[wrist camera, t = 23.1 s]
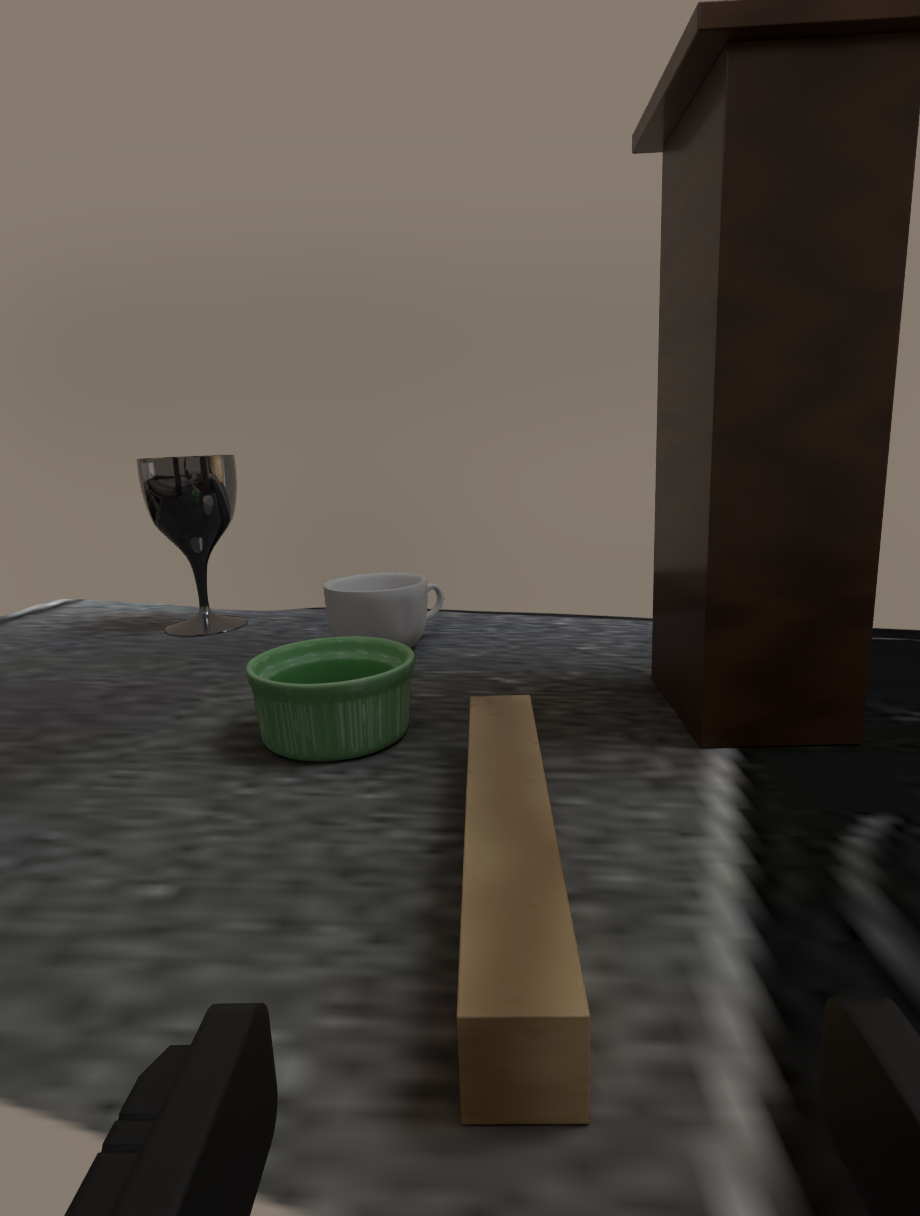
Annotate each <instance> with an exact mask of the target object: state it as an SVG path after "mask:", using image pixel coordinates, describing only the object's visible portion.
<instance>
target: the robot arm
mask: <svg viewBox="0 0 920 1216" xmlns="http://www.w3.org/2000/svg"><path fill="white" fill-rule="evenodd" d="M819 1099H820V1105H821V1110H822V1115H823V1118H824V1122H825V1125H826V1128H827V1131H828V1134H829V1136H830V1138H831V1141H832V1143H833V1145H834V1147H835V1149H836V1151H837V1153H838V1155H839V1157H840V1159H841V1161H842V1163H843V1165H844V1167H845V1169H846V1171H847V1173H848V1175H849V1177H850V1179H851V1181H852V1183H853V1185H854V1187H855V1189H856V1191H857V1193H858V1195H859V1197H860V1199H861V1201H862V1203H863V1205H864V1207H865V1209H866V1211H867V1213H868V1215H869V1216H920V1036H919V1035H918V1033H917V1032H916V1031H915V1029H914V1028H913V1027H912V1025H911V1024H910V1023H909V1021H908V1020H907V1019H906V1017H905V1016H904V1014H903V1013H902V1012H901V1010H900V1009H899V1008H898V1006H897V1005H896V1004H895V1003H894V1002H893V1001H892V1000H891V999H890V998H888V997H885V996H858V997H830V998H829V999H828V1001H827V1003H826V1006H825V1014H824V1026H823V1038H822V1050H821V1062H820V1074H819ZM276 1114H277V1082H276V1073H275V1065H274V1056H273V1047H272V1038H271V1030H270V1021H269V1013H268V1009H267V1006H266V1005H265V1004H264V1003H236V1004H213V1005H212V1006H210V1008H209V1009H208V1011H207V1012H206V1014H205V1016H204V1018H203V1021H202V1023H201V1025H200V1027H199V1029H198V1031H197V1033H196V1035H195V1037H194V1039H193V1041H192V1044H191V1045H170V1046H169V1047H168V1048H167V1049H166V1050H165V1051H164V1052H163V1053H162V1054H161V1055H160V1056H159V1057H158V1058H157V1059H156V1060H155V1061H154V1062H153V1063H152V1064H151V1065H150V1066H149V1067H148V1068H147V1069H146V1070H145V1071H144V1072H143V1073H142V1074H141V1075H140V1076H139V1077H138V1079H137V1081H136V1083H135V1085H134V1087H133V1089H132V1090H131V1092H130V1094H129V1096H128V1098H127V1100H126V1102H125V1103H124V1105H123V1107H122V1109H121V1111H120V1113H119V1119H118V1121H115V1122H114V1124H113V1126H112V1128H111V1130H110V1131H109V1133H108V1135H107V1137H106V1139H105V1141H104V1143H103V1146H102V1151H101V1153H98V1154H97V1156H96V1158H95V1160H94V1161H93V1163H92V1165H91V1167H90V1169H89V1171H88V1173H87V1174H86V1176H85V1178H84V1180H83V1182H82V1184H81V1186H80V1188H79V1189H78V1191H77V1193H76V1195H75V1197H74V1199H73V1201H72V1203H71V1204H70V1206H69V1208H68V1210H67V1212H66V1214H65V1215H64V1216H250V1213H251V1210H252V1207H253V1203H254V1200H255V1197H256V1193H257V1190H258V1187H259V1183H260V1180H261V1176H262V1173H263V1170H264V1166H265V1163H266V1160H267V1156H268V1153H269V1149H270V1146H271V1142H272V1139H273V1134H274V1129H275V1123H276Z"/></svg>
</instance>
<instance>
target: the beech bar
mask: <svg viewBox="0 0 920 1216" xmlns="http://www.w3.org/2000/svg"><path fill="white" fill-rule="evenodd" d="M456 1019H457V1041H458V1064H459V1086H460V1108H461V1123H462V1124H589V1122H590V1012H589V1007H588V1001H587V996H586V991H585V985H584V980H583V975H582V969H581V964H580V959H579V953H578V948H577V943H576V937H575V932H574V927H573V922H572V916H571V911H570V906H569V900H568V895H567V890H566V884H565V879H564V874H563V868H562V863H561V858H560V852H559V847H558V842H557V836H556V831H555V826H554V821H553V815H552V810H551V805H550V799H549V794H548V789H547V783H546V778H545V773H544V767H543V762H542V757H541V751H540V746H539V741H538V735H537V730H536V725H535V719H534V714H533V709H532V704H531V698H530V695H506V696H471V697H470V717H469V740H468V763H467V786H466V809H465V832H464V854H463V877H462V900H461V923H460V946H459V969H458V992H457V1015H456Z"/></svg>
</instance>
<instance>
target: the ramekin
mask: <svg viewBox="0 0 920 1216" xmlns="http://www.w3.org/2000/svg"><path fill="white" fill-rule="evenodd" d="M414 662H415V655H414V652H413V650H412V649H411V648H410V647H408V646H406V645H404V644H402V643H400V642H397V641H393V640H388V639H383V638H375V637H360V636H352V637H329V638H319V639H312V640H306V641H300V642H295V643H291V644H287V645H283V646H280V647H277V648H274V649H271V650H268V651H266V652H264V653H262V654H260V655H258V656H256V657H254V658H253V659H252V660H251V661H250V662H249V663H248V664H247V666H246V676H247V679H248V682H249V684H250V686H251V687H252V690H253V695H254V700H255V705H256V711H257V716H258V722H259V727H260V732H261V737H262V740H263V742H264V744H265V746H266V747H267V748H268V749H270V750H271V751H273V752H274V753H276V754H278V755H281V756H284V757H287V758H291V759H295V760H302V761H338V760H345V759H352V758H357V757H361V756H365V755H369V754H372V753H375V752H378V751H380V750H383V749H385V748H387V747H389V746H390V745H392V744H394V743H395V742H397V741H398V740H399V739H400V738H401V737H402V736H403V735H404V734H405V732H406V730H407V728H408V725H409V717H410V690H411V673H412V671H413V668H414Z"/></svg>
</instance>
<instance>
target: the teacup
mask: <svg viewBox="0 0 920 1216" xmlns="http://www.w3.org/2000/svg"><path fill="white" fill-rule="evenodd" d="M431 589H434V590H435V591H436V594H437V602H436V605H435V606H434V608H433V609H431V610H430V611H428V612H427V593H428V592H429V591H430V590H431ZM324 595H325V604H326V610H327V616H328V622H329V626H330V630H331V632H332V634H333V636H334V637H352V636H360V637H375V638H383V639H388V640H393V641H397V642H400V643H402V644H404V645H406V646H408V647H410V648H412V647H413V646H414V645H415V644H416V643H417V642H418V641H419V639H420V638H421V636H422V634H423V631H424V628H425V624H426V621H427V620H429V619H430V618H431V617H433V616H434V615H435V614H436V613H437V612H438V611H439V610H440V608H441V607H442V605H443V600H444V599H443V592H442V590H441V588H440V587H439V586H437V585H435V584H427V578H426V577H425V576H423V575H419V574H413V573H401V572H387V573H386V572H384V573H369V574H359V575H352V576H346V577H341V578H337V579H334V580H331V581H328V582H326V583H325V584H324Z"/></svg>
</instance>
